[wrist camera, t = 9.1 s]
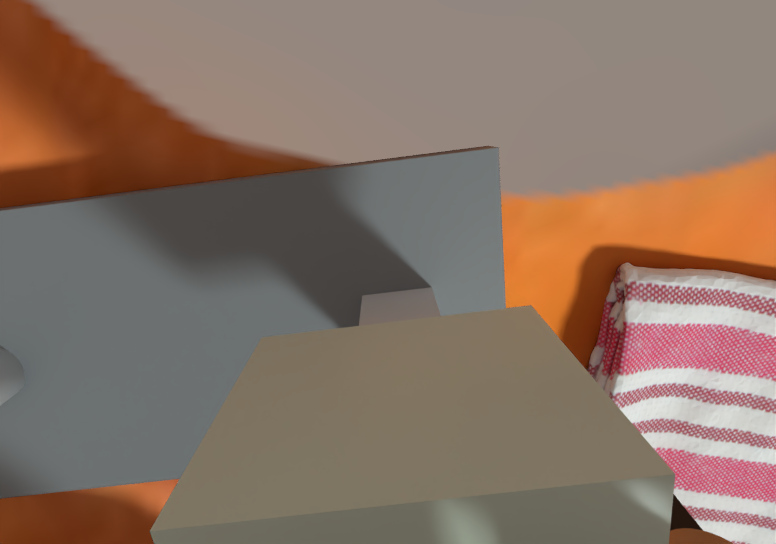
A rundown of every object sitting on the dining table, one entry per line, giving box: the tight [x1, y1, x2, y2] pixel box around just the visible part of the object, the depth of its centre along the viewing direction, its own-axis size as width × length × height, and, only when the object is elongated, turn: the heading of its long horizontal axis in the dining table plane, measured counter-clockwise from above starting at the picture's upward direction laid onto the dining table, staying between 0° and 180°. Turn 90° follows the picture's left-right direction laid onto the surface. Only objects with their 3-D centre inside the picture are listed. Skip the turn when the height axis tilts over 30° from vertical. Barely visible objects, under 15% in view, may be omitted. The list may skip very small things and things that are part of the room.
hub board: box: [0, 146, 506, 498], centre depth 15 cm, size 24×12×8 cm, turn 97°
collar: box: [150, 305, 675, 544], centre depth 8 cm, size 6×6×5 cm
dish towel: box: [588, 263, 776, 544], centre depth 21 cm, size 17×23×4 cm
